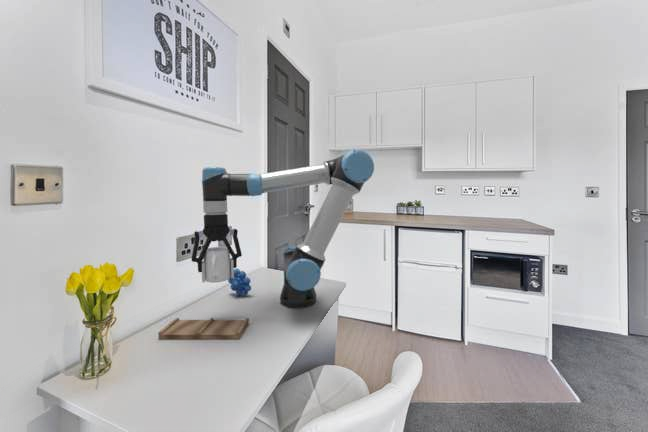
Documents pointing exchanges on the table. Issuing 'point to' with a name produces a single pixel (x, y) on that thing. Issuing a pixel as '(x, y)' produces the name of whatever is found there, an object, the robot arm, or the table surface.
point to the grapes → (240, 282)
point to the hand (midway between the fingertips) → (218, 279)
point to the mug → (217, 264)
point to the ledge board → (204, 329)
